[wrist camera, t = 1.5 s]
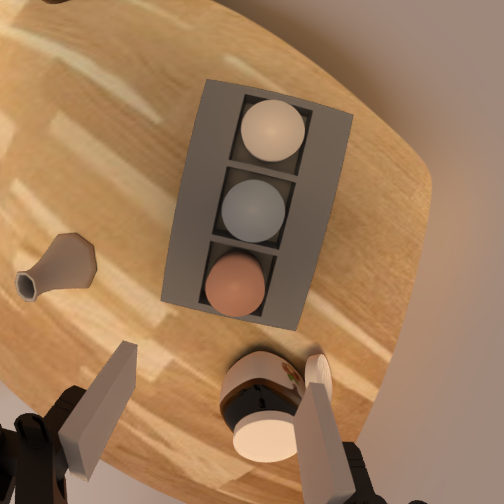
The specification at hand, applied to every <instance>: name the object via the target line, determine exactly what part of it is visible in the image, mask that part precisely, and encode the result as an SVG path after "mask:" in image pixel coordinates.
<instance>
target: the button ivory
mask: <svg viewBox="0 0 504 504" xmlns="http://www.w3.org/2000/svg"><path fill="white" fill-rule="evenodd" d="M241 134H242V138H243V142H244V145H245V147H246V149H247V151H248V152H249V153H250V154H251V155H252V156H253V157H254V158H256V159H258V160H260V161H263V162H267V163H275V162H279V161H282V160H284V159H286V158H288V157H289V156H291V155H292V154H294V153H295V152H296V151H297V150H298V149H299V147H300V146H301V144H302V142H303V139H304V134H305V128H304V123H303V120H302V117H301V116H300V114H299V113H298V111H297V110H296V109H295V108H294V107H292V106H291V105H289V104H288V103H285V102H283V101H279V100H265V101H262V102H259V103H257V104H255V105H254V106H252V107H251V108H250V109H249V110H248V111H247V113H246V114H245V116H244V118H243V121H242V125H241Z"/></svg>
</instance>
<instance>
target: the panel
mask: <svg viewBox="0 0 504 504" xmlns="http://www.w3.org/2000/svg"><path fill="white" fill-rule="evenodd" d="M265 100H279V101H283V102H285V103H288V104H289V105H291V106H292V107H294V108H295V109H296V110H297V111H298V113H299V114H300V116H301V117H302V120H303V123H304V128H305V134H304V139H303V142H302V144H301V146H300V147H299V149H298V150H297V151H296V152H295V153H294V154H292V155H291V156H289V157H288V158H286V159H284V160H282V161H279V162H275V163H267V162H263V161H260V160H258V159H256V158H254V157H253V156H252V155H251V154H250V153H249V152H248V151H247V149H246V147H245V145H244V142H243V138H242V134H241V125H242V121H243V118H244V116H245V114H246V113H247V111H248V110H249V109H250V108H251V107H252V106H254V105H255V104H257V103H259V102H262V101H265ZM352 120H353V114H350V113H347V112H344V111H340V110H337V109H334V108H331V107H328V106H324V105H321V104H318V103H314V102H311V101H307V100H303V99H300V98H296V97H292V96H288V95H284V94H280V93H276V92H272V91H267V90H263V89H258V88H254V87H249V86H244V85H239V84H233V83H228V82H222V81H216V80H209V79H206V83H205V86H204V90H203V94H202V97H201V101H200V105H199V108H198V112H197V116H196V120H195V124H194V128H193V132H192V136H191V140H190V144H189V149H188V153H187V157H186V162H185V166H184V171H183V175H182V180H181V185H180V189H179V194H178V199H177V204H176V209H175V215H174V220H173V225H172V231H171V237H170V242H169V248H168V254H167V260H166V267H165V273H164V280H163V287H162V294H161V301H163V302H167V303H170V304H174V305H178V306H182V307H186V308H190V309H194V310H199V311H203V312H207V313H211V314H216V315H220V316H224V317H229V318H233V319H238V320H243V321H247V322H252V323H257V324H262V325H267V326H272V327H277V328H282V329H287V330H292V331H296V329H297V325H298V322H299V319H300V316H301V313H302V310H303V307H304V304H305V300H306V297H307V294H308V291H309V287H310V284H311V281H312V277H313V274H314V271H315V267H316V264H317V260H318V257H319V253H320V250H321V246H322V243H323V239H324V235H325V232H326V228H327V224H328V221H329V217H330V213H331V209H332V205H333V202H334V198H335V194H336V190H337V186H338V182H339V177H340V173H341V169H342V165H343V161H344V156H345V152H346V147H347V143H348V139H349V134H350V129H351V125H352ZM247 180H260V181H264V182H266V183H268V184H270V185H271V186H273V187H274V188H275V189H276V190H277V191H278V192H279V194H280V195H281V197H282V199H283V202H284V206H285V217H284V221H283V223H282V226H281V227H280V229H279V230H278V231H277V233H276V234H274V235H273V236H272V237H270V238H269V239H267V240H264V241H261V242H246V241H242V240H240V239H238V238H236V237H235V236H234V235H232V234H231V233H230V232H229V230H228V229H227V228H226V226H225V224H224V221H223V217H222V205H223V201H224V199H225V196H226V195H227V193H228V192H229V191H230V190H231V189H232V188H233V187H234V186H235V185H237V184H239V183H241V182H243V181H247ZM235 250H239V251H245V252H247V253H250V254H251V255H253V256H254V257H255V258H256V259H257V260H258V261H259V262H260V264H261V266H262V269H263V275H264V285H265V294H264V298H263V300H262V302H261V304H260V305H259V307H258V308H257V309H256V310H255V311H253V312H252V313H250V314H248V315H245V316H240V317H232V316H227V315H224V314H222V313H220V312H218V311H217V310H216V309H215V308H214V307H213V306H212V305H211V304H210V302H209V301H208V298H207V295H206V281H207V278H208V276H209V274H210V272H211V269H212V267H213V265H214V263H215V261H216V260H217V259H218V258H219V257H220V256H221V255H223V254H224V253H227V252H229V251H235Z"/></svg>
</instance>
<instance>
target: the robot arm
mask: <svg viewBox="0 0 504 504" xmlns="http://www.w3.org/2000/svg"><path fill="white" fill-rule="evenodd" d="M42 1H44V2H46V3H60V2H64V1H67V0H42ZM137 346H138V345H136V344H133V343H129V342H126V341H122V343H121V344H120V345H119V347H118V348H117V349H116V351H115V352H114V353H113V355H112V356H111V358H110V359H109V360H108V362H107V363H106V364H105V366H104V367H103V369H102V370H101V371H100V373H99V374H98V375H97V377H96V378H95V380H94V381H93V383H92V384H91V385H90V387H89V388H88V390H85V389H83V388H80V387H78V386H75V385H74V386H72V387H70V388H68V389H66V390H65V391H64V392H63V393H62V395H61V396H60V397H59V399H58V400H57V401H56V402H55V404H54V405H53V406H52V408H51V409H50V410H49V411H48V413H47V414H46V415H45V417H44V418H42V417H41V416H40V415H37V414H34V413H25V414H23V415H20V416H19V417H18V418H16V420H15V422H14V426H15V428H16V431H17V432H15V431H11V430H7V429H4V428H2V426H1V424H0V504H9V503H10V500H11V497H12V494H13V491H14V488H15V504H68V503H67V491H66V479H65V473H66V471H67V469H68V468H69V471H70V474H71V475H73V476H75V477H77V478H80V479H82V480H84V481H87V482H88V481H89V479H90V477H91V475H92V473H93V471H94V469H95V467H96V465H97V463H98V461H99V458H100V456H101V454H102V452H103V450H104V448H105V446H106V444H107V442H108V440H109V438H110V436H111V434H112V432H113V430H114V428H115V426H116V424H117V422H118V420H119V418H120V416H121V414H122V412H123V410H124V408H125V406H126V404H127V402H128V400H129V398H130V397H131V395H132V393H133V391H134V389H135V383H136V362H137ZM293 426H294V433H295V440H296V447H297V454H298V461H299V468H300V476H301V483H302V490H303V498H304V504H387V503H386V501H385V500H384V499H383V498H382V497H381V496H379V495H376V494H375V492H374V490H373V487H372V484H371V481H370V478H369V475H368V472H367V469H366V468H365V463H364V461H363V457H362V455H361V451H360V449H359V448H358V447H357V446H356V445H355V444H354V442H342V441H341V438H340V434H339V431H338V428H337V424H336V421H335V418H334V415H333V411H332V408H331V405H330V402H329V398H328V395H327V392H326V389H325V386H324V384H322V383H314V382H309V384H308V387H307V389H306V391H305V394H304V396H303V398H302V401H301V403H300V405H299V407H298V410H297V412H296V414H295V416H294V419H293ZM409 504H427V503H425V502H423V501H419V500H415V501H411V502H410V503H409Z"/></svg>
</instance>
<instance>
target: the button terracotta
mask: <svg viewBox="0 0 504 504" xmlns="http://www.w3.org/2000/svg"><path fill="white" fill-rule="evenodd" d="M264 294H265V285H264V275H263V269H262V266H261V264H260V262H259V261H258V260H257V259H256V258H255V257H254V256H253V255H251V254H250V253H247V252H245V251H239V250H235V251H229V252H227V253H224V254H223V255H221V256H220V257H219V258H218V259H217V260H216V261H215V263H214V265H213V267H212V269H211V272H210V274H209V276H208V278H207V281H206V295H207V298H208V301H209V302H210V304H211V305H212V306H213V307H214V308H215V309H216V310H217V311H218V312H220V313H222V314H224V315H227V316H232V317H240V316H245V315H248V314H250V313H252V312H253V311H255V310H256V309H257V308H258V307H259V305H260V304H261V302H262V300H263V298H264Z"/></svg>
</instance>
